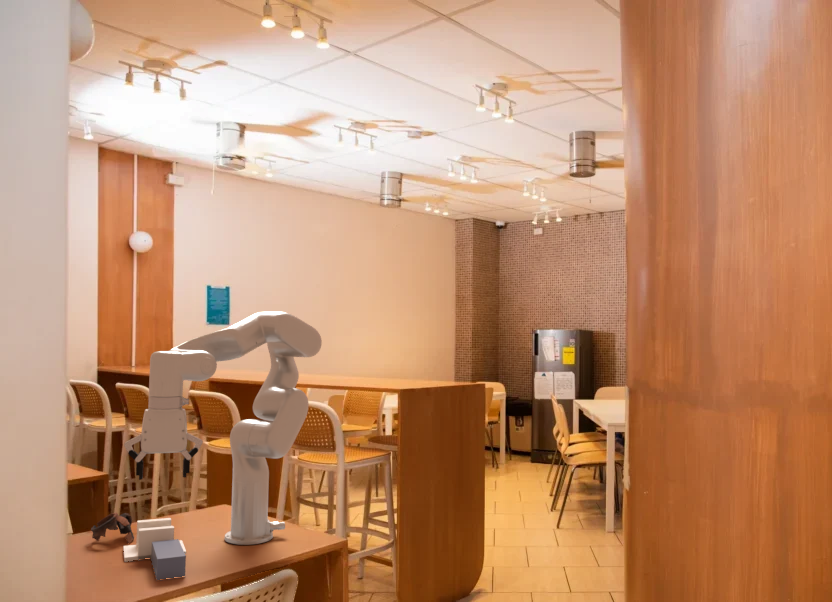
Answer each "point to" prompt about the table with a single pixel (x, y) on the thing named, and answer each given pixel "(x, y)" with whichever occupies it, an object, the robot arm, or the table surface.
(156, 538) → the display stand
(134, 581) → the table surface
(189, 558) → the table surface
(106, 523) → the pottery mug
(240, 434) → the robot arm
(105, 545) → the table surface
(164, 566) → the blue-grey rectangular block
